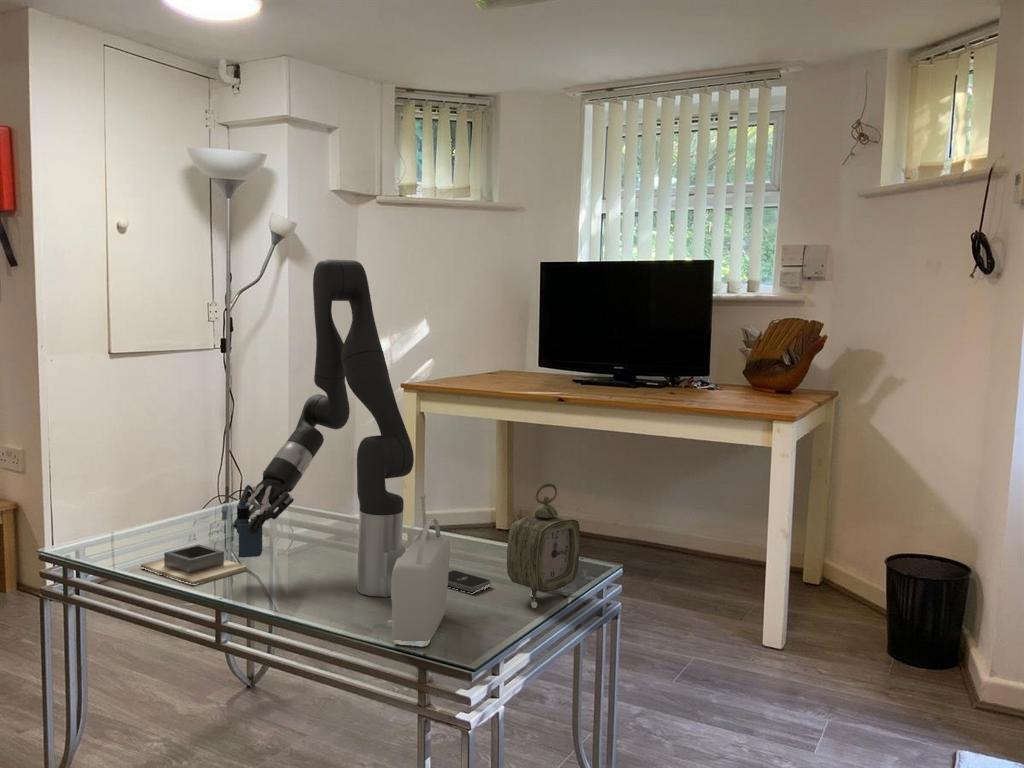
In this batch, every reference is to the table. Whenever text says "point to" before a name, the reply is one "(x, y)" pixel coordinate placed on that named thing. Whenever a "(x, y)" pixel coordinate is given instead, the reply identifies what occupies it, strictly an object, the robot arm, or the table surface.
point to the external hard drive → (466, 581)
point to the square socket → (193, 559)
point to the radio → (420, 585)
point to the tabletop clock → (543, 548)
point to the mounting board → (196, 577)
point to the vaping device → (247, 533)
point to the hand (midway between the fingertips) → (243, 529)
